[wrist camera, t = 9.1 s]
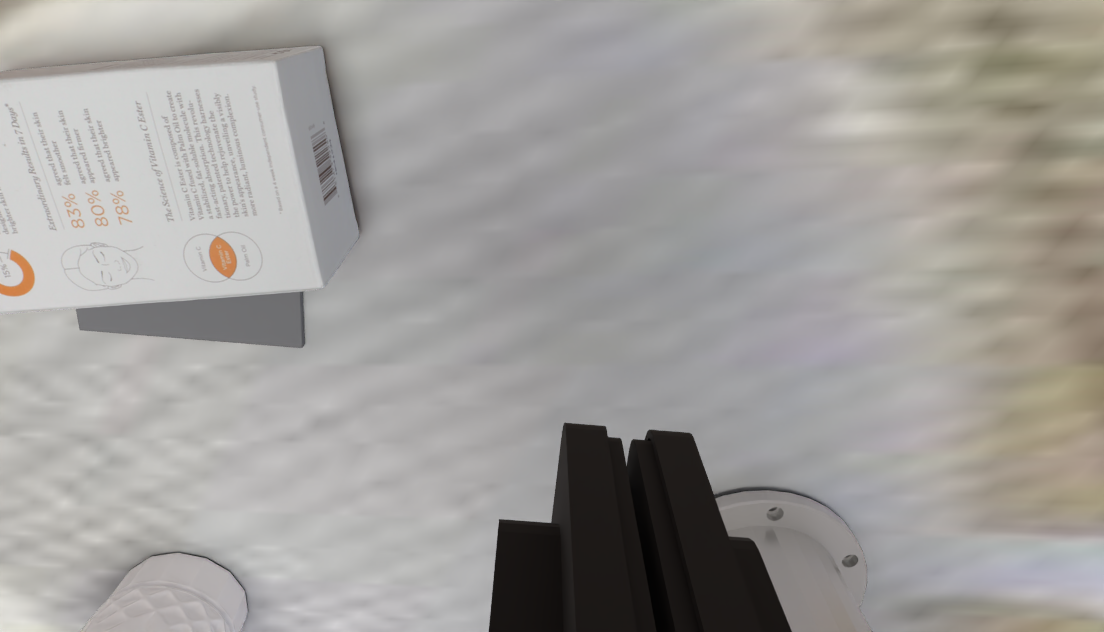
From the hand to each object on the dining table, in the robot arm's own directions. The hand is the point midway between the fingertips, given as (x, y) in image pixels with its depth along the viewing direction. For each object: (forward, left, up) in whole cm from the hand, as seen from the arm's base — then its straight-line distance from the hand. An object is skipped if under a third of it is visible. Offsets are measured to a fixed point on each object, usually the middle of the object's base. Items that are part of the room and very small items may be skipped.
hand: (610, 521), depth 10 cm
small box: (0, +9, -20) cm, 22 cm away
